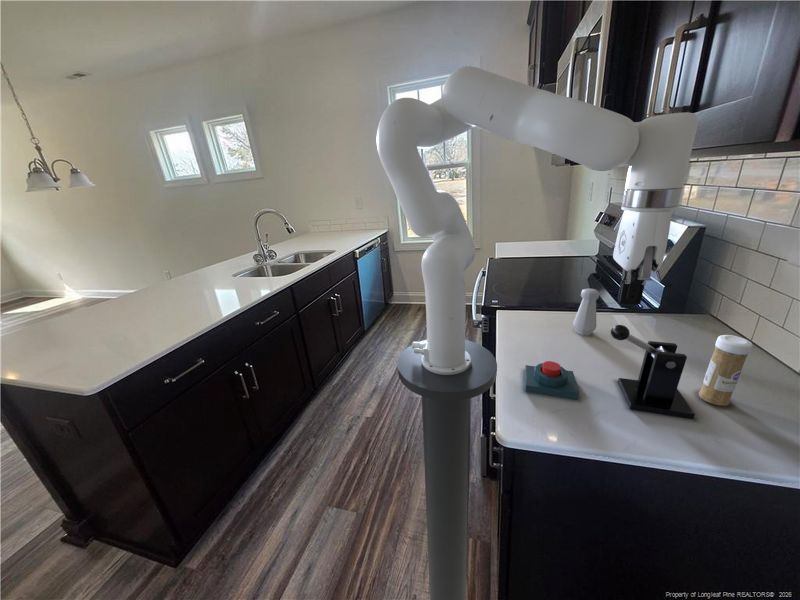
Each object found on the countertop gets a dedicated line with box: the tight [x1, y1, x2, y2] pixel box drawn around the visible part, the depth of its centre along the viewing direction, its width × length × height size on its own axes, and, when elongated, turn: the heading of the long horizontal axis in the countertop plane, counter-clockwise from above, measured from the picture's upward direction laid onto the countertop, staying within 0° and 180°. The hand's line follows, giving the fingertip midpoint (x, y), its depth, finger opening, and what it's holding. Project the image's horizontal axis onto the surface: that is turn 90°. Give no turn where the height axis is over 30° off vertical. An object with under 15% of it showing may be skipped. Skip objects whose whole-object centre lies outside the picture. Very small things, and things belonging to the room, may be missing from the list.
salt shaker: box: [572, 287, 600, 336], centre depth 88 cm, size 6×6×13 cm
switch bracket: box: [617, 340, 696, 420], centre depth 62 cm, size 10×9×12 cm
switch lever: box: [610, 324, 673, 358], centre depth 61 cm, size 12×3×3 cm, turn 71°
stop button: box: [542, 360, 562, 377], centre depth 69 cm, size 4×4×2 cm
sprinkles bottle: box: [698, 334, 753, 407], centre depth 60 cm, size 5×5×13 cm
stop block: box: [524, 362, 579, 400], centre depth 70 cm, size 10×8×4 cm
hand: (628, 302), depth 59 cm, fingers closed
